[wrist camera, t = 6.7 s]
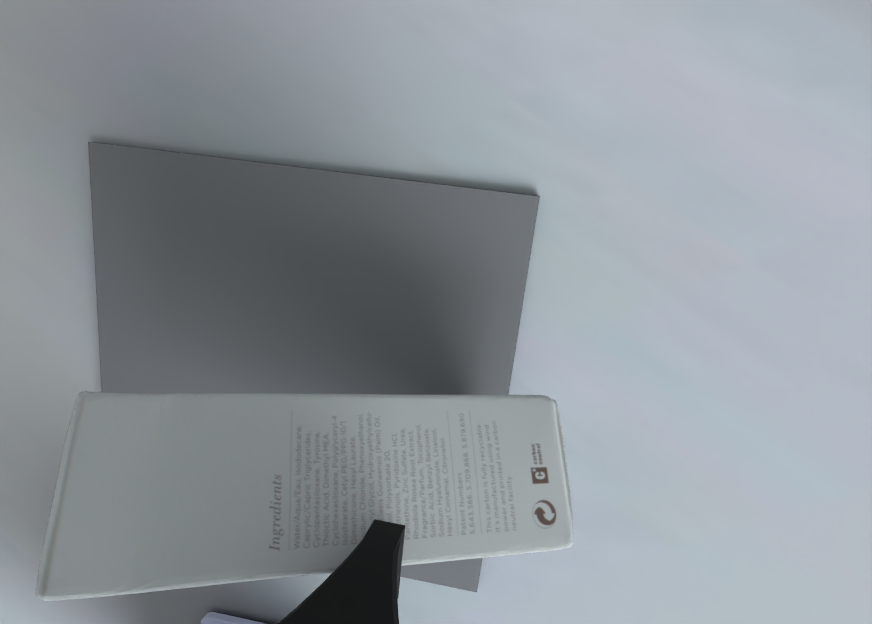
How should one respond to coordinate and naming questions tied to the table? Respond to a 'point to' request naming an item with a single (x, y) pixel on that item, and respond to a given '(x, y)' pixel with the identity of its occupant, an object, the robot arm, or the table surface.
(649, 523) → the table surface
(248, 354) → the mat
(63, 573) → the skincare box
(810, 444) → the table surface
